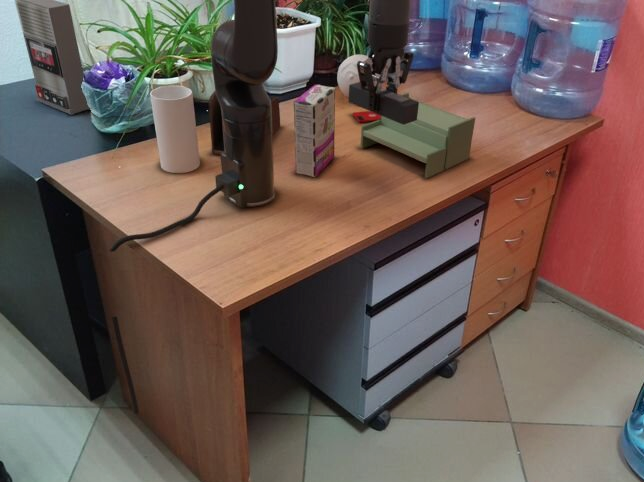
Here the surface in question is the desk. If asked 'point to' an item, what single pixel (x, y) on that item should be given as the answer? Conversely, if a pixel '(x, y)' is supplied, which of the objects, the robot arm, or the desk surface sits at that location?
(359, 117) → the electronic device
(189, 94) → the cup
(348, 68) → the decorative ball
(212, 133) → the letter holder
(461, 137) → the step shelf
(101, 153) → the desk surface
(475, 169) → the desk surface
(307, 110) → the candy bar box
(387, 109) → the remote
